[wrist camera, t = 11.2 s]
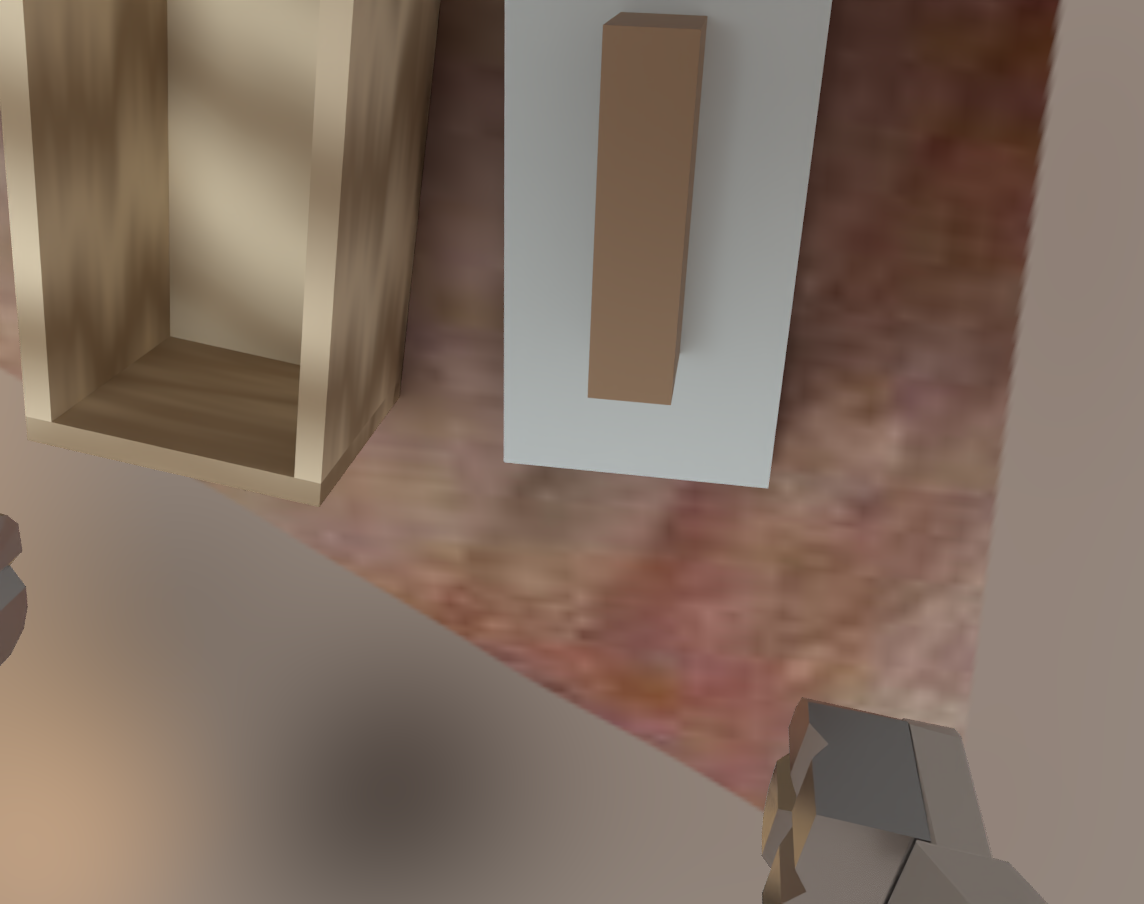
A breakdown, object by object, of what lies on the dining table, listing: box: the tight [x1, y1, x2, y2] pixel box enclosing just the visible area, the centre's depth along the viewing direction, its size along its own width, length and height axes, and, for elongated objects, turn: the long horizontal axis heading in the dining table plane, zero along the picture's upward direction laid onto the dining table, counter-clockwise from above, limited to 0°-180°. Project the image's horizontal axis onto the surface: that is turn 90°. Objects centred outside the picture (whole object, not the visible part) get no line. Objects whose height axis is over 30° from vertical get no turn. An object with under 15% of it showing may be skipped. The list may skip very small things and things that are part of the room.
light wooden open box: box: [0, 0, 440, 507], centre depth 30 cm, size 19×9×8 cm, turn 170°
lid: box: [504, 0, 832, 488], centre depth 31 cm, size 19×9×6 cm, turn 178°
